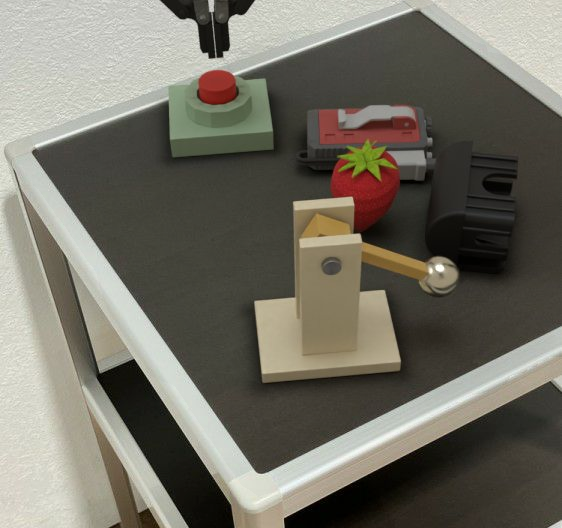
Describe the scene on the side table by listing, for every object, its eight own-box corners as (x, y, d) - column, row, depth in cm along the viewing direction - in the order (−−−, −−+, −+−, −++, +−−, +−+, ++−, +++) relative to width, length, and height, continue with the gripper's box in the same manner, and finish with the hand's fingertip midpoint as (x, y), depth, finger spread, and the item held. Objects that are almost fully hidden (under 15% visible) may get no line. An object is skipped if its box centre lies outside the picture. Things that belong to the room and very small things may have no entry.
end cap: (431, 195, 90) (438, 135, 85) (508, 203, 89) (520, 143, 84) (420, 269, 84) (427, 209, 79) (502, 278, 83) (515, 219, 78)
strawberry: (403, 207, 89) (411, 116, 82) (385, 262, 85) (393, 171, 77) (341, 197, 91) (343, 106, 83) (320, 250, 86) (321, 159, 78)
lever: (440, 281, 78) (463, 254, 75) (448, 310, 75) (472, 283, 73) (297, 235, 72) (318, 204, 70) (302, 264, 70) (323, 234, 68)
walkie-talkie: (296, 187, 92) (508, 182, 91) (295, 149, 88) (515, 144, 88) (295, 130, 97) (495, 126, 97) (294, 92, 94) (501, 87, 93)
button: (235, 83, 96) (234, 68, 95) (237, 104, 94) (236, 89, 93) (199, 86, 96) (197, 71, 95) (200, 107, 94) (198, 92, 93)
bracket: (384, 299, 82) (393, 179, 72) (400, 371, 77) (412, 253, 67) (254, 310, 82) (246, 191, 72) (262, 383, 76) (254, 266, 67)
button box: (266, 96, 101) (264, 62, 98) (273, 149, 95) (272, 115, 92) (170, 103, 101) (166, 70, 98) (172, 157, 95) (167, 123, 92)
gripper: (115, -110, 76) (146, 82, 89) (282, -123, 76) (289, 70, 90) (116, -150, 81) (146, 38, 94) (274, -162, 81) (281, 27, 94)
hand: (216, 53), depth 92 cm, fingers closed
